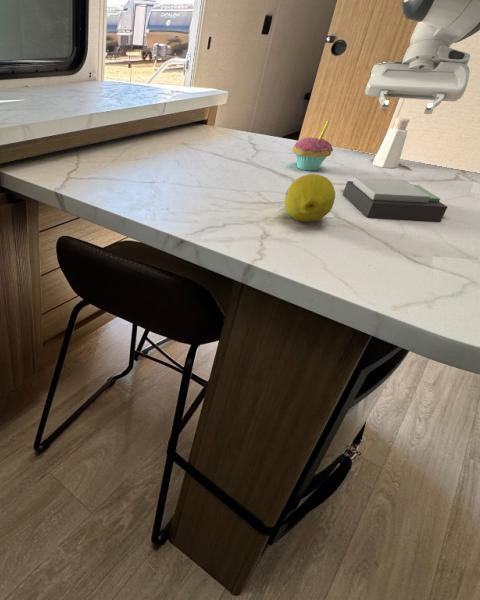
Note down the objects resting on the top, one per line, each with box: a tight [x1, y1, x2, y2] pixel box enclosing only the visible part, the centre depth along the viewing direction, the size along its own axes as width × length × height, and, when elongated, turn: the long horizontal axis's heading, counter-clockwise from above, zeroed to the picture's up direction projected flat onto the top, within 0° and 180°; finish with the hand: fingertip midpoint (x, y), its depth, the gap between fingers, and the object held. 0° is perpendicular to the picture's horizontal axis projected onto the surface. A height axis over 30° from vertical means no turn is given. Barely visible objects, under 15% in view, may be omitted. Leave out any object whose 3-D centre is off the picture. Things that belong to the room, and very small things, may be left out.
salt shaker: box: [372, 117, 410, 169], centre depth 101 cm, size 5×5×11 cm
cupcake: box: [291, 116, 334, 172], centre depth 99 cm, size 9×8×12 cm
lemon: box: [284, 173, 336, 223], centre depth 72 cm, size 11×8×8 cm
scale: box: [342, 177, 448, 223], centre depth 79 cm, size 12×13×4 cm
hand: (405, 110), depth 103 cm, fingers open, 8 cm apart
